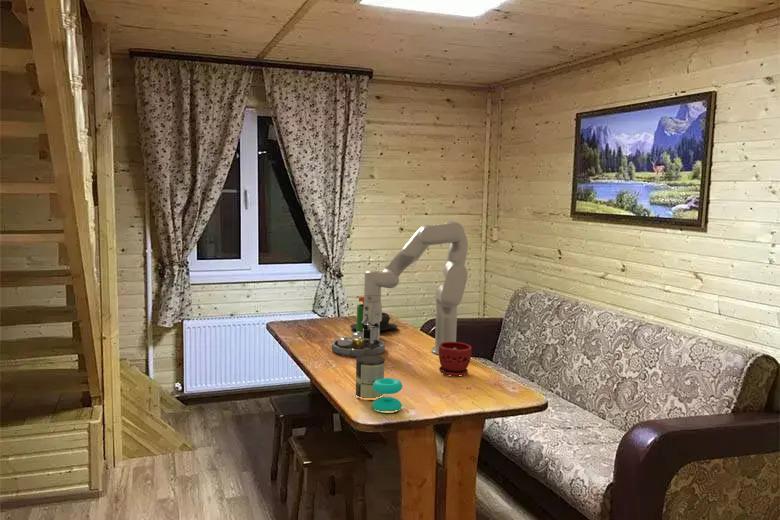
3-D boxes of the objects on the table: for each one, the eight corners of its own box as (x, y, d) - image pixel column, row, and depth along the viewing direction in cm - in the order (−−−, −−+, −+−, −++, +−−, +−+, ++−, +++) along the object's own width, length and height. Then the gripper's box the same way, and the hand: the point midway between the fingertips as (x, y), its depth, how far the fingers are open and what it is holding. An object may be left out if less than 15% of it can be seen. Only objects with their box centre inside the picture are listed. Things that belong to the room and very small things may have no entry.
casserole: (354, 334, 334) (354, 318, 333) (346, 326, 352) (347, 311, 351) (401, 333, 341) (402, 316, 340) (392, 325, 359) (392, 310, 358)
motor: (373, 339, 325) (374, 299, 323) (355, 338, 326) (356, 298, 323) (374, 334, 335) (375, 295, 333) (356, 334, 336) (357, 295, 333)
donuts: (408, 383, 223) (382, 387, 217) (407, 411, 224) (382, 416, 219) (392, 375, 231) (367, 379, 226) (391, 403, 232) (367, 407, 227)
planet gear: (382, 337, 301) (382, 327, 300) (374, 341, 294) (374, 330, 294) (368, 335, 304) (368, 324, 304) (359, 338, 298) (360, 327, 297)
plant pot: (444, 379, 262) (445, 349, 260) (433, 370, 274) (434, 341, 273) (475, 377, 265) (476, 348, 264) (463, 368, 278) (464, 340, 276)
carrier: (393, 348, 308) (394, 333, 308) (367, 360, 287) (368, 343, 286) (349, 341, 320) (349, 326, 319) (321, 352, 299) (321, 336, 298)
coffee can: (349, 396, 238) (350, 358, 236) (368, 390, 246) (369, 353, 244) (371, 403, 232) (371, 363, 230) (389, 396, 240) (390, 358, 238)
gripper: (370, 301, 288) (368, 341, 290) (389, 296, 303) (387, 334, 305) (355, 299, 291) (354, 339, 293) (374, 294, 307) (373, 332, 309)
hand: (371, 336), depth 299 cm, fingers closed on planet gear, 7 cm apart
